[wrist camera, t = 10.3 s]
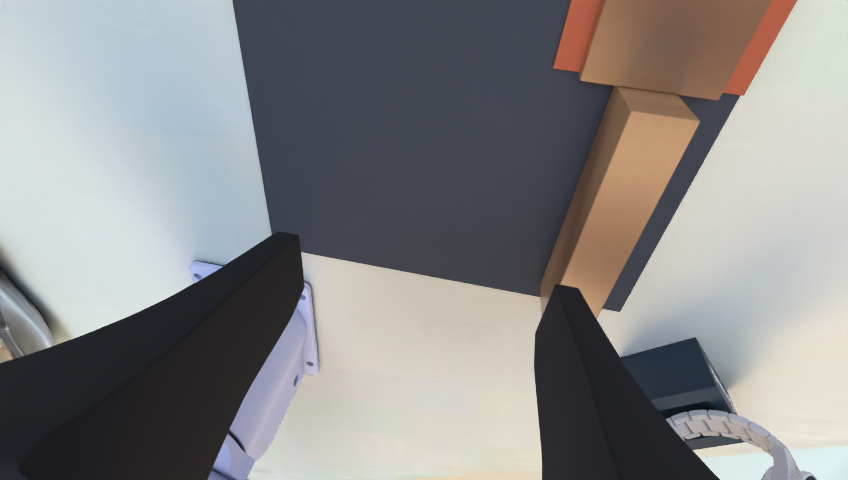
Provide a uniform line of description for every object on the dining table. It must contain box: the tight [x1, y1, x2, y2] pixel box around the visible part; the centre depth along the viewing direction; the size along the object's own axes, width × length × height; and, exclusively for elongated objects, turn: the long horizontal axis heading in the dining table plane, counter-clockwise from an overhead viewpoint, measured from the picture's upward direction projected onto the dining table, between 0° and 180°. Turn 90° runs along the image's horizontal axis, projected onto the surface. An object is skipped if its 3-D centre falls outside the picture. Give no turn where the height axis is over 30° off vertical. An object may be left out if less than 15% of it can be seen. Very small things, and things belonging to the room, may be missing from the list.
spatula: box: [540, 0, 772, 319], centre depth 16 cm, size 18×5×3 cm, turn 175°
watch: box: [621, 338, 817, 480], centre depth 21 cm, size 6×8×11 cm
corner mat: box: [233, 0, 797, 312], centre depth 18 cm, size 19×20×1 cm
